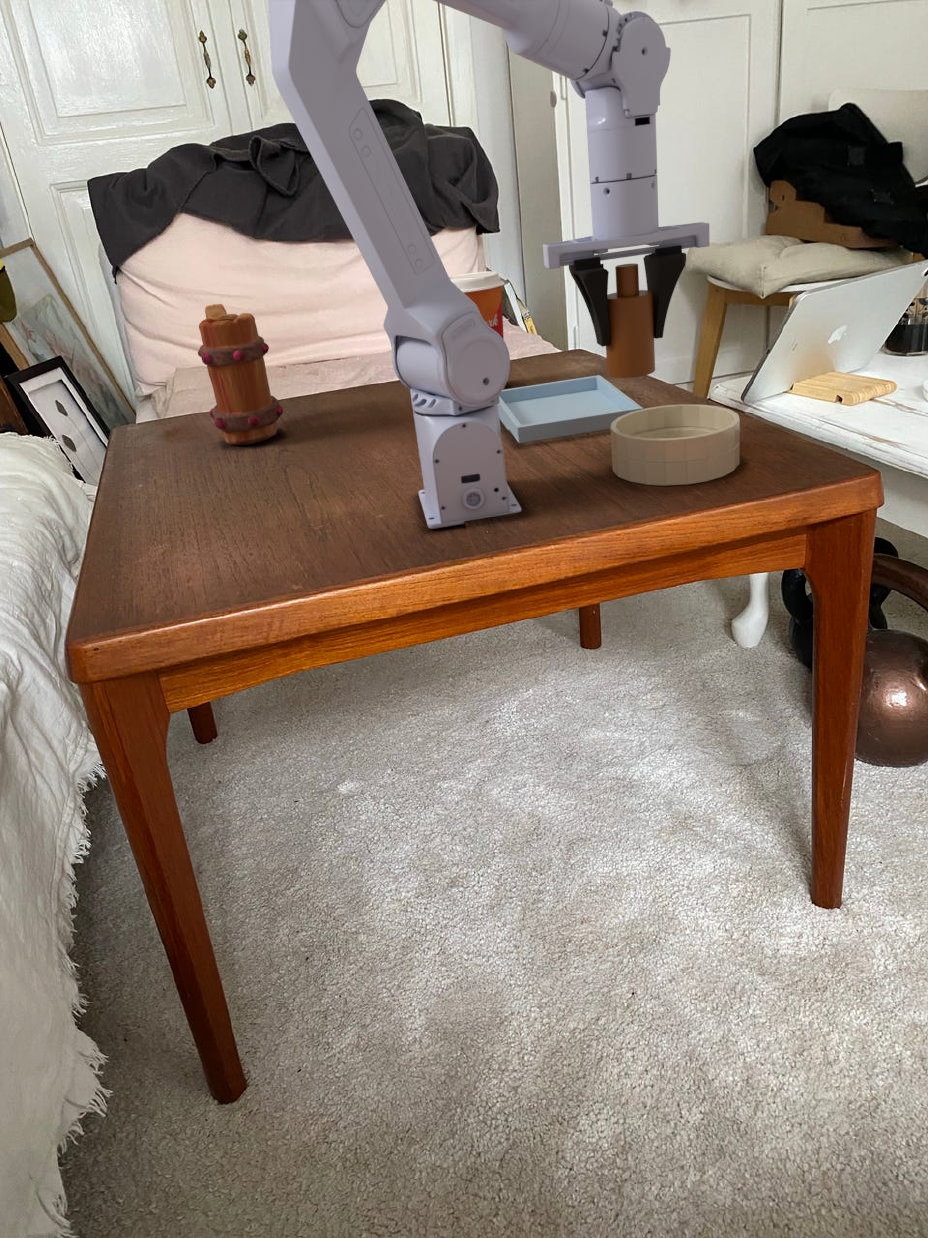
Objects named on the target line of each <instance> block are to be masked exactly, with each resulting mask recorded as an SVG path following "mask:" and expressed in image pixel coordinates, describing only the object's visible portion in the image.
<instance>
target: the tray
mask: <svg viewBox="0 0 928 1238" xmlns="http://www.w3.org/2000/svg"><path fill="white" fill-rule="evenodd" d="M499 400H500V403H499V404H498V410H499V420H500V422H501V423H502V424H503V426H504V427H505V428H506V430H507V431H510V433H511V434H512V436H513V437H514V438H515V440H516V441H517V443H518V444H522V443H523V444H524V443H529V442H536V441H542V440H549V439H555V438H560V437H568V436H575V435H580V434H586V433H593V432H600V431H605V430H611V423H612V422H613V421H615V420H616V419H617V418H618V417H621V416H623V415H625V414H628V413H630V412H634V411H638V410H642V409H644V407H643V406H641V405H640V404H638V403H637V402H636V401H634V400H633V399H632V398H631V397H629V395H627V394H625V393H624V391H623V392H622V390H620V389H619V388H618V387H617V386H615V385H613V383H610V381H608V380H607V379H605V377H603V376H602V375H600V374H598V375H590V376H585V377H578V378H571V379H565V380H559V381H552V382H546V383H537V384H532V385H526V386H519V387H512V388H505V389H503V390H502V391H501V393H500V394H499Z"/></svg>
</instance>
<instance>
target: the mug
mask: <svg viewBox="0 0 928 1238" xmlns="http://www.w3.org/2000/svg"><path fill="white" fill-rule="evenodd" d="M204 313H205V319H203V320H201V322H199V324H198V330H199V332H200V337H201V343H202V344H201V345H200V346H199V349H198V351H197V355H198V357H200V358H201V362H202V364H204V365H206V369H207V373H208V376H209V380H210V382H211V386H212V390H213V395H214V400H215V403H216V405H215V406H214V407H213V408H210V410H209V417H211V418H212V419H213V420H214V426H215V427H216V428H217V429H218V430H220V431H222V434H223V435H222V436H223V438H224V441H225V443H227V444H229V445H234V446H243V445H246V446H247V445H251V444H252V445H253V444H256V443H261V442H265V441H266V440H269V439H270V438H272V437H274V436H275V435H276V434H277V432H278V425H277V422H278V420H279V419H280V418H281V416H282V415H283V413H284V408H283V406H282V405H280V403H279V400H278V398H276V397H275V396H274V395H272V394H271V389H270V384H269V380H268V379H269V378H268V374H267V368H266V362H265V358H264V356H265V355H266V354H267V353H268V352H269V350H270V346H269V344H268V343H266V342H265V339H264V338H263V336H260V335H259V331H258V328H257V327H258V326H257V324H256V319H255V316H254V315H253V314H252V313H249V312H242V313H239V314H237V313H227V310H226V308H225V306H224V305H223V303H217V304H210V305H206V306H205V307H204Z"/></svg>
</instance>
